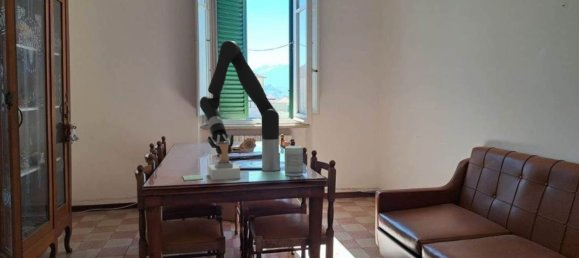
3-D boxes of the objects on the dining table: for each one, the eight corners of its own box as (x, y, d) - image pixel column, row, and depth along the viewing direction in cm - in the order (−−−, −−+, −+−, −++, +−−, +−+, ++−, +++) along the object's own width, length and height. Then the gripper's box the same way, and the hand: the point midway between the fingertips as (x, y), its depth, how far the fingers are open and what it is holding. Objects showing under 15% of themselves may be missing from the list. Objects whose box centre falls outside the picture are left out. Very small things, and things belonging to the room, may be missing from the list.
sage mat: (201, 175, 216) (201, 174, 216) (203, 179, 208) (203, 178, 208) (182, 177, 214) (182, 175, 214) (184, 180, 205) (184, 179, 205)
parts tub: (238, 172, 225) (237, 159, 224) (243, 177, 212) (243, 164, 212) (208, 174, 220) (208, 161, 219) (211, 179, 207) (211, 165, 207)
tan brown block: (227, 160, 218) (227, 141, 217) (229, 161, 214) (228, 142, 212) (218, 160, 216) (218, 141, 215) (220, 162, 212) (219, 142, 211)
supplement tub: (306, 175, 218) (306, 147, 217) (291, 177, 213) (291, 148, 211) (296, 172, 226) (296, 145, 225) (281, 174, 221) (281, 146, 219)
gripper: (204, 123, 216) (213, 149, 207) (231, 121, 223) (240, 147, 214) (202, 132, 221) (209, 158, 212) (228, 130, 228) (236, 156, 219)
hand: (225, 152), depth 213 cm, fingers closed on tan brown block, 4 cm apart
